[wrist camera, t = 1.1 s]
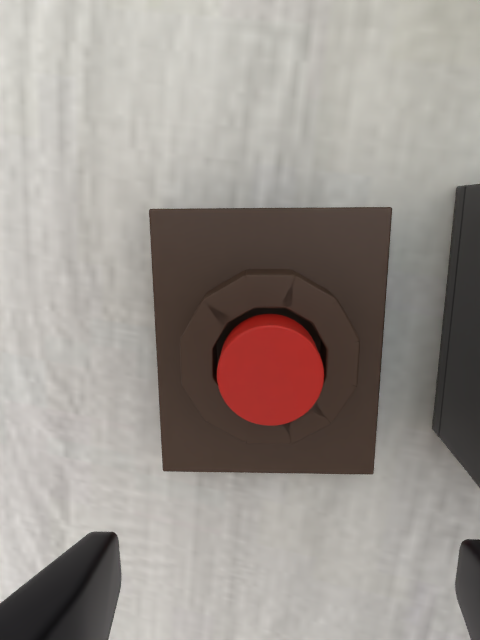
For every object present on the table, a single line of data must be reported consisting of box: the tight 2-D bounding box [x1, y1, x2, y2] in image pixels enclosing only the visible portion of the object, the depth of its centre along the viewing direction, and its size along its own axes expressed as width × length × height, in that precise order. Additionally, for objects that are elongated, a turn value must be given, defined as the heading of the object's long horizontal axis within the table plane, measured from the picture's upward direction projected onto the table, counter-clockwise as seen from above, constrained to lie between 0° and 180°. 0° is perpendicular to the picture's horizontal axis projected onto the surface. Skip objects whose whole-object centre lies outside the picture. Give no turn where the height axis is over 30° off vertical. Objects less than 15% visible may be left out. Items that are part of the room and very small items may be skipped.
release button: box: [217, 314, 324, 426], centre depth 16 cm, size 4×4×2 cm
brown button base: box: [149, 207, 392, 474], centre depth 18 cm, size 11×9×4 cm
